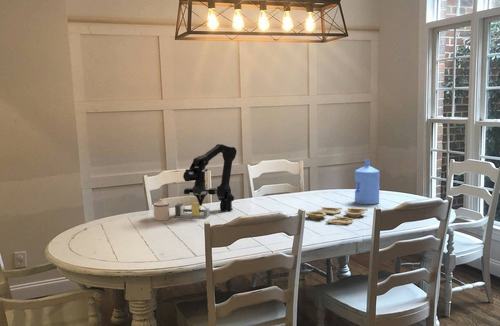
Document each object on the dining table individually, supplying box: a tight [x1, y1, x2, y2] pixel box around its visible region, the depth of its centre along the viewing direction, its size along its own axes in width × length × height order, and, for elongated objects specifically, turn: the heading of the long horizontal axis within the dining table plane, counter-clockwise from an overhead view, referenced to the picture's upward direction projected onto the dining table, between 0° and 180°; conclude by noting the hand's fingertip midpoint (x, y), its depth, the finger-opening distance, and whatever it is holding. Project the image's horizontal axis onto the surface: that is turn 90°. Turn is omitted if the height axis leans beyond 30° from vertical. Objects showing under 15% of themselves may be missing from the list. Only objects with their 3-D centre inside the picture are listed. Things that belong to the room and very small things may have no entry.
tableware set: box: [305, 206, 369, 226], centre depth 267 cm, size 35×29×4 cm
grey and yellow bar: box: [174, 202, 211, 220], centre depth 274 cm, size 19×8×7 cm, turn 79°
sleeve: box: [190, 201, 202, 216], centre depth 273 cm, size 4×5×7 cm
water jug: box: [354, 159, 381, 205], centre depth 303 cm, size 16×16×28 cm
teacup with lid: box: [153, 198, 170, 222], centre depth 270 cm, size 12×9×12 cm
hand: (201, 205), depth 272 cm, fingers closed
